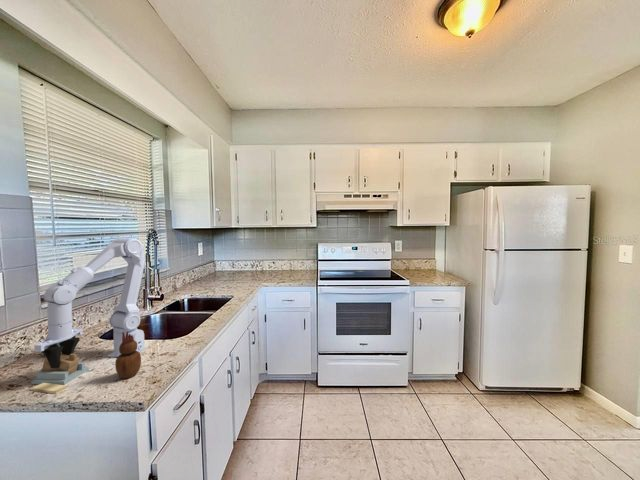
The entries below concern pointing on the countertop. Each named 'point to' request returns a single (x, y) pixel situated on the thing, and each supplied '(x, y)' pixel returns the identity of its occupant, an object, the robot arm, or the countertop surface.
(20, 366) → the countertop surface
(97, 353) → the countertop surface
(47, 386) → the plank
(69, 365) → the tan pegged block
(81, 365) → the jig
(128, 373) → the wooden figurine
